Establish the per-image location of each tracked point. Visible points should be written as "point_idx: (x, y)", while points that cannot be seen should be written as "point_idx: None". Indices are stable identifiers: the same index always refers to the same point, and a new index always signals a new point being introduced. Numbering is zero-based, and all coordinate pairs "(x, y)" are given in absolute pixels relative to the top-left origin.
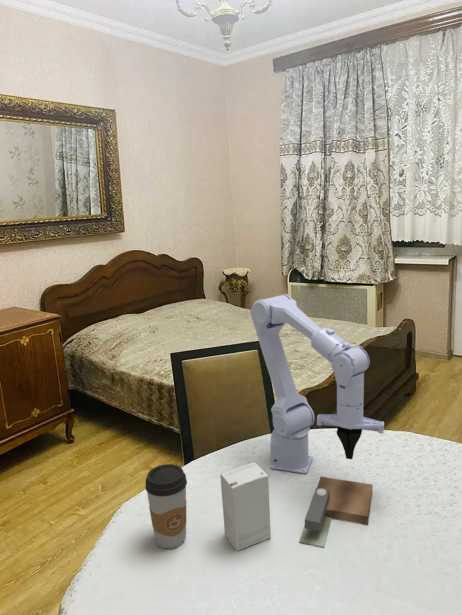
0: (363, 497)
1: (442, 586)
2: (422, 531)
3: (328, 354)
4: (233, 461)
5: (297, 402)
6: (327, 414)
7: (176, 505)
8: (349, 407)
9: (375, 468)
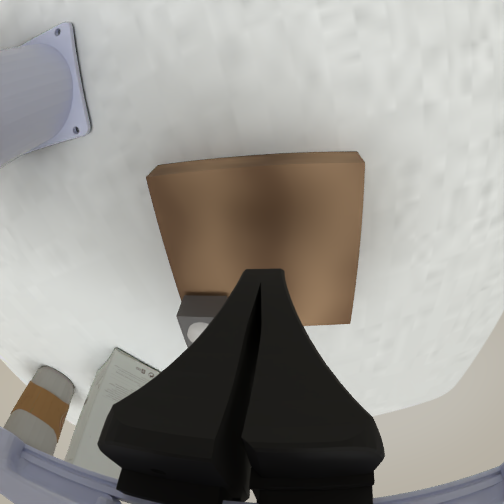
0: (335, 251)
1: (448, 377)
2: (468, 285)
3: None
4: None
5: None
6: (6, 497)
7: (55, 445)
8: None
9: None
